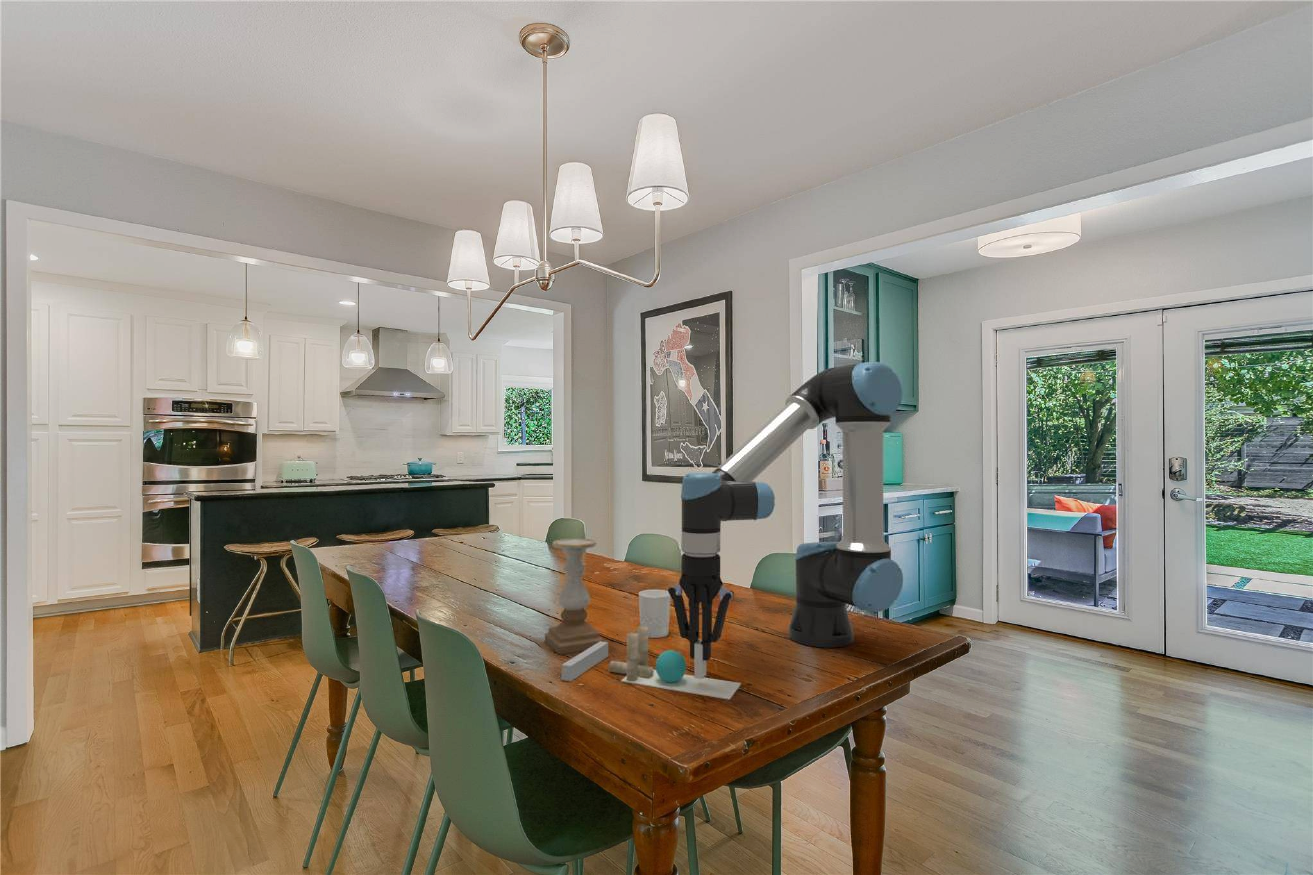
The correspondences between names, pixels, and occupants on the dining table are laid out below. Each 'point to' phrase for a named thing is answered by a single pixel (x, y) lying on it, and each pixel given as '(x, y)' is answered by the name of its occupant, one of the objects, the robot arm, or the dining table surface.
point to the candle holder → (573, 603)
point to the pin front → (622, 669)
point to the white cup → (655, 612)
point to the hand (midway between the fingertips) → (700, 676)
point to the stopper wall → (584, 661)
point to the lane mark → (692, 685)
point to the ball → (670, 666)
